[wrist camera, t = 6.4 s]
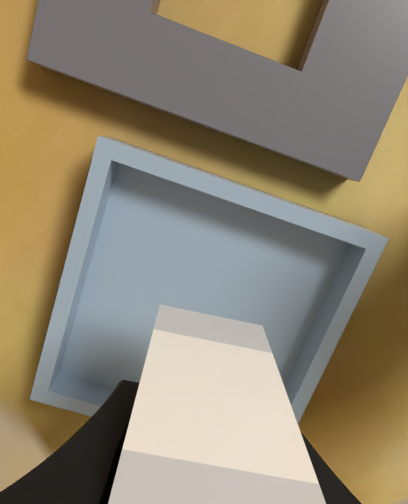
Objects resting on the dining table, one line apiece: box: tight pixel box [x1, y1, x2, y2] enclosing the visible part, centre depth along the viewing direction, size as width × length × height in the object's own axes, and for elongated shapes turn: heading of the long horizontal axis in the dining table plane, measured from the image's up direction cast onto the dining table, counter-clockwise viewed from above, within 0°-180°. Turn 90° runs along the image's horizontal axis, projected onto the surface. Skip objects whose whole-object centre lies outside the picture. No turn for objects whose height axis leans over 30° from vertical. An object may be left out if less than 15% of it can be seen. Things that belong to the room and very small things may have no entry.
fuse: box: [108, 305, 326, 504], centre depth 10 cm, size 4×4×9 cm
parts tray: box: [30, 136, 389, 424], centre depth 20 cm, size 14×14×2 cm
